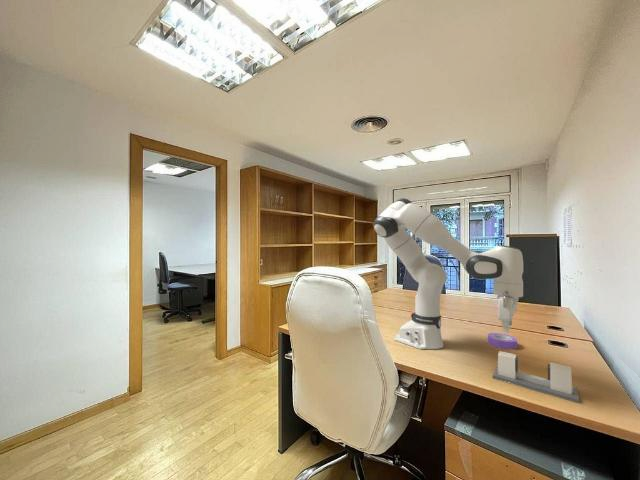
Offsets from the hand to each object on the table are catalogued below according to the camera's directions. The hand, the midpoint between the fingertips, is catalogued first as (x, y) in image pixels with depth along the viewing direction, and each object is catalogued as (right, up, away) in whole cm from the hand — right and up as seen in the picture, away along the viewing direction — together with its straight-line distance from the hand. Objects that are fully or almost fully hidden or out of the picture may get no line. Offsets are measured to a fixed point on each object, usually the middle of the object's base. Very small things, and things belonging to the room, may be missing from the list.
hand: (507, 328), depth 95 cm
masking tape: (+19, -18, +30) cm, 40 cm away
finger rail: (+5, -17, -5) cm, 19 cm away
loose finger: (0, -16, 0) cm, 16 cm away
